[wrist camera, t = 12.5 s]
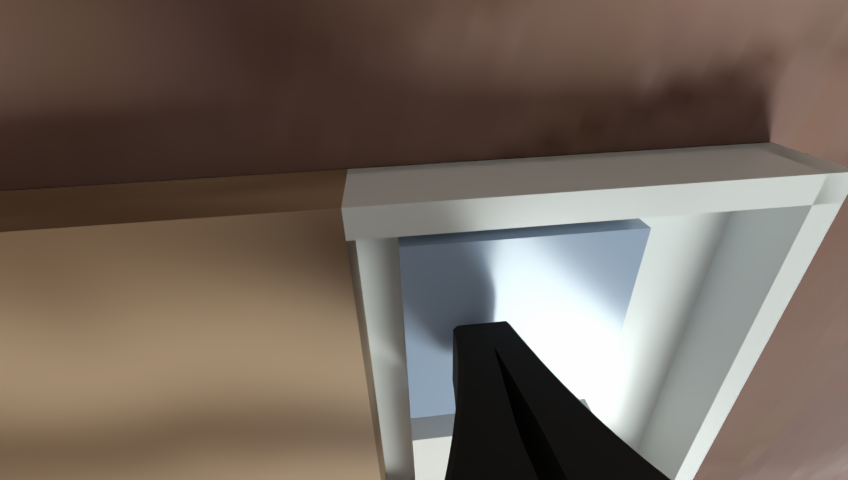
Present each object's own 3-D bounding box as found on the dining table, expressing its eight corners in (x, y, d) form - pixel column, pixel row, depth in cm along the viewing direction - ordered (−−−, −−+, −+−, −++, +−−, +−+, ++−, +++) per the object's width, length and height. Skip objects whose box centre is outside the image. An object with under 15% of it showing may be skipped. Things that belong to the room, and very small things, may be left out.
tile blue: (574, 350, 14) (602, 396, 13) (406, 367, 14) (410, 418, 12) (608, 194, 11) (651, 227, 10) (395, 209, 11) (399, 247, 9)
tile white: (549, 466, 18) (567, 515, 16) (414, 483, 17) (419, 535, 16) (569, 371, 15) (595, 418, 13) (408, 388, 14) (412, 440, 13)
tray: (642, 455, 19) (675, 510, 17) (389, 487, 18) (390, 549, 16) (771, 142, 11) (859, 171, 9) (347, 169, 10) (341, 207, 8)
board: (389, 487, 18) (390, 549, 16) (57, 529, 17) (12, 601, 15) (347, 169, 10) (341, 207, 8) (-255, 207, 9) (-433, 262, 7)
